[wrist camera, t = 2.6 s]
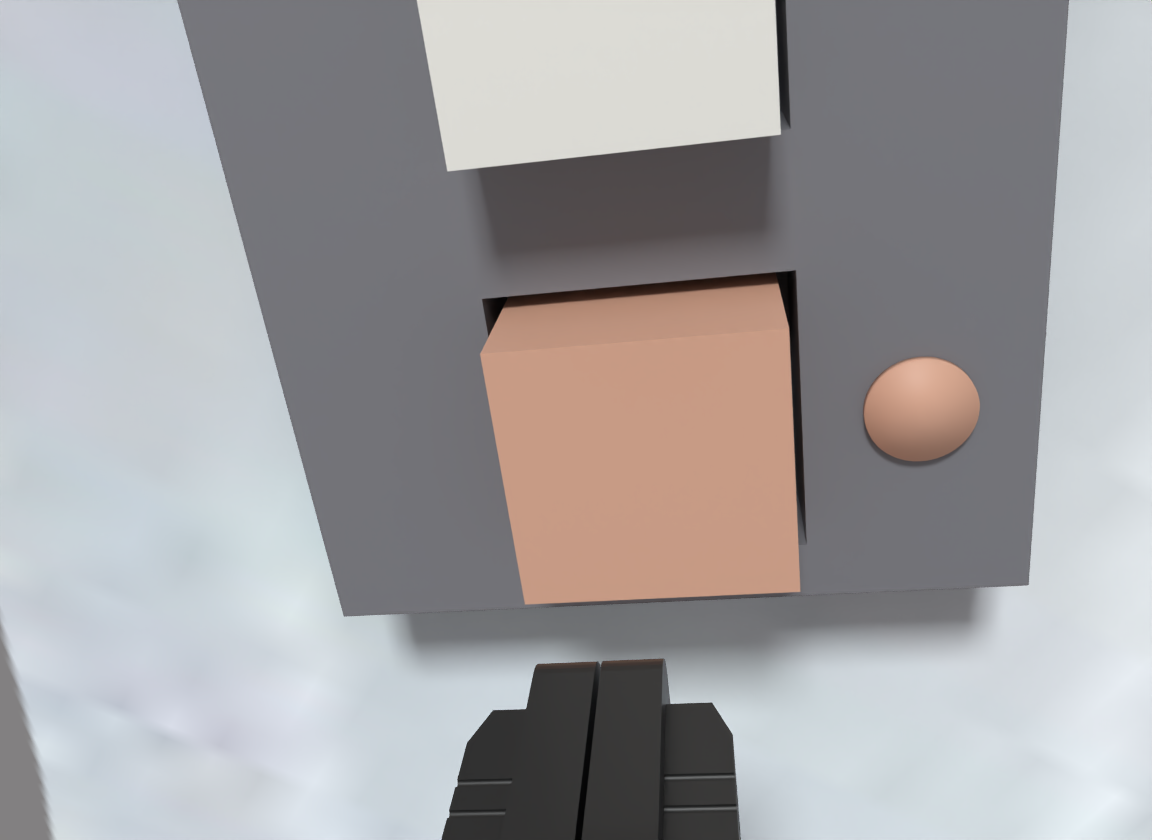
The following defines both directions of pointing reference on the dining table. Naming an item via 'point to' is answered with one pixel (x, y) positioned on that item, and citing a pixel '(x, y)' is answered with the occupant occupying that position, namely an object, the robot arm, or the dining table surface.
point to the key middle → (597, 76)
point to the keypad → (658, 279)
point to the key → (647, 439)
